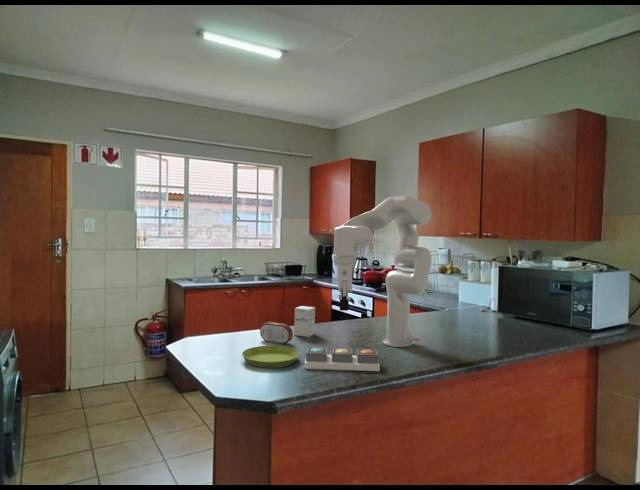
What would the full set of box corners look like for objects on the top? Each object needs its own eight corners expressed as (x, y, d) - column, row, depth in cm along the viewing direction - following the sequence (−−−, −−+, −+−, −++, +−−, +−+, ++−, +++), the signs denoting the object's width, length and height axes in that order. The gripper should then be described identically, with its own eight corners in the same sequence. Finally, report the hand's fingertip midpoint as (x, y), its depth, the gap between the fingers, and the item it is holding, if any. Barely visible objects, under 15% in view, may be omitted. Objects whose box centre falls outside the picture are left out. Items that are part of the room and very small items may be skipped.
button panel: (376, 361, 161) (377, 348, 161) (379, 371, 150) (379, 356, 150) (306, 359, 163) (307, 345, 162) (304, 368, 152) (304, 354, 151)
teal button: (324, 356, 159) (324, 348, 159) (323, 360, 154) (323, 352, 154) (310, 355, 159) (310, 347, 159) (309, 359, 154) (309, 351, 154)
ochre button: (348, 357, 159) (348, 349, 159) (349, 361, 154) (349, 352, 154) (335, 356, 159) (335, 348, 159) (334, 360, 154) (335, 352, 154)
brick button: (373, 358, 158) (373, 349, 158) (374, 362, 153) (374, 353, 153) (359, 357, 159) (360, 349, 158) (360, 361, 154) (360, 353, 154)
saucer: (249, 373, 146) (250, 364, 146) (236, 356, 165) (236, 348, 165) (307, 366, 154) (307, 358, 154) (288, 351, 173) (288, 343, 173)
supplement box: (293, 335, 198) (294, 307, 198) (300, 332, 205) (300, 305, 205) (308, 337, 195) (309, 309, 195) (314, 333, 202) (315, 306, 202)
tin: (293, 343, 184) (293, 324, 184) (289, 345, 181) (289, 325, 181) (262, 339, 190) (262, 320, 190) (258, 341, 187) (259, 321, 187)
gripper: (355, 262, 152) (355, 314, 153) (353, 258, 167) (353, 306, 168) (334, 262, 152) (334, 314, 153) (333, 258, 167) (333, 306, 168)
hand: (344, 310), depth 161 cm, fingers closed
